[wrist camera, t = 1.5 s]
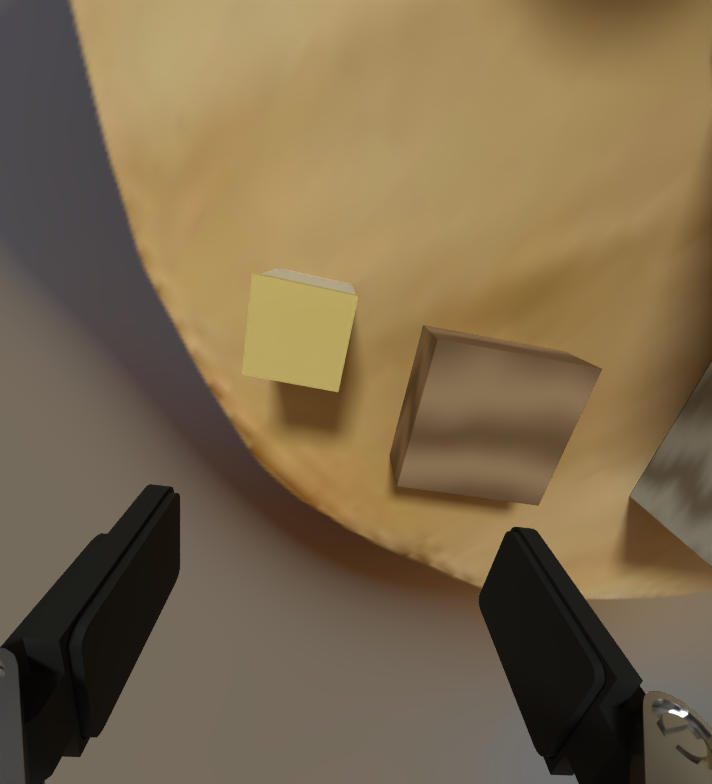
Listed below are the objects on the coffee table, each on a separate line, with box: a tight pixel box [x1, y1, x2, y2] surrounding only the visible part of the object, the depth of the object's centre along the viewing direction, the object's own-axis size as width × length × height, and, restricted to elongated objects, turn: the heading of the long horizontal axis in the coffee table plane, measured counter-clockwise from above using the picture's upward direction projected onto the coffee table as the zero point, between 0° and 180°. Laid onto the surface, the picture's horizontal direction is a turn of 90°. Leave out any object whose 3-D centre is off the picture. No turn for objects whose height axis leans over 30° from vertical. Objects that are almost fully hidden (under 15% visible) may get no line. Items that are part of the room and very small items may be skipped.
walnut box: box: [390, 325, 602, 505], centre depth 29 cm, size 12×12×5 cm
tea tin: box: [242, 268, 358, 392], centre depth 24 cm, size 6×6×8 cm
